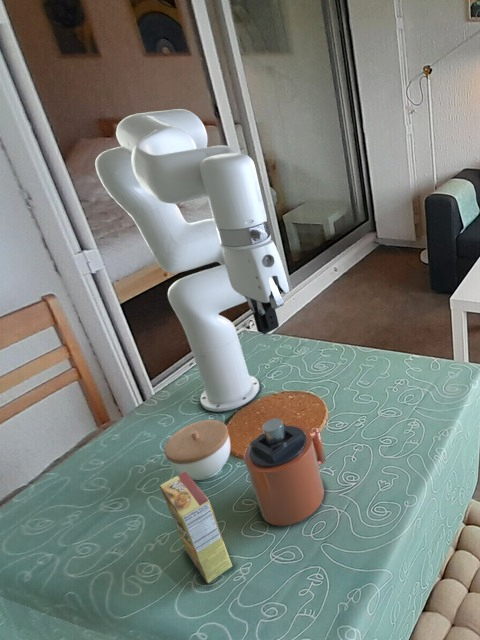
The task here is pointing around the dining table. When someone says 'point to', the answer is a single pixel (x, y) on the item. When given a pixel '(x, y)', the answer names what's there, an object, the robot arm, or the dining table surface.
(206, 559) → the candy box
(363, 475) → the dining table surface
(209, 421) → the trinket box
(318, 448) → the jug
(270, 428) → the jug button
